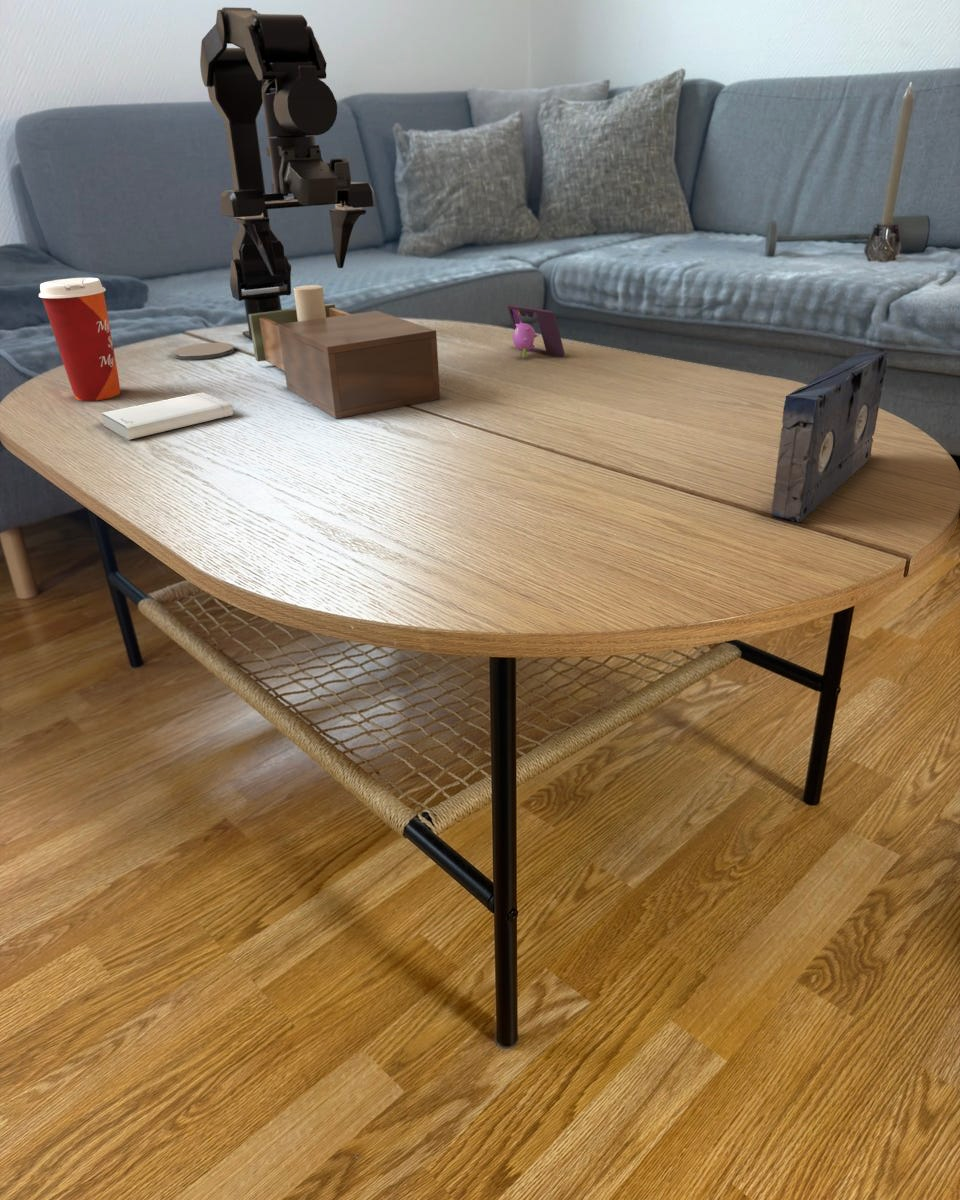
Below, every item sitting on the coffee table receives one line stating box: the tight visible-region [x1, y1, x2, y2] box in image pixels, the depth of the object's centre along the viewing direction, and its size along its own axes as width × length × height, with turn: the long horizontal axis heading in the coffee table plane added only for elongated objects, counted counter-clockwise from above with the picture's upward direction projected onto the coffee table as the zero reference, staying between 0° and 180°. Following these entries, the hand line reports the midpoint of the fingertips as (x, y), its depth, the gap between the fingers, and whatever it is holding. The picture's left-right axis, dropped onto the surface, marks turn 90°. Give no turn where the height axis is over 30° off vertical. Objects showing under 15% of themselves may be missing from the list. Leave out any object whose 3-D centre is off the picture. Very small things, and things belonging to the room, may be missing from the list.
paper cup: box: [38, 277, 121, 402], centre depth 109 cm, size 8×8×14 cm
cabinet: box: [278, 310, 441, 420], centre depth 107 cm, size 17×14×8 cm
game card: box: [507, 304, 566, 359], centre depth 122 cm, size 7×5×9 cm
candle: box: [293, 284, 326, 321], centre depth 117 cm, size 4×4×9 cm
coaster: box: [172, 342, 235, 361], centre depth 133 cm, size 9×9×1 cm
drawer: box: [249, 303, 351, 372], centre depth 120 cm, size 20×12×6 cm, turn 30°
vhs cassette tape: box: [770, 349, 888, 523], centre depth 74 cm, size 18×3×10 cm, turn 140°
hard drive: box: [100, 391, 234, 441], centre depth 101 cm, size 2×8×12 cm
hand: (307, 271), depth 114 cm, fingers open, 9 cm apart
